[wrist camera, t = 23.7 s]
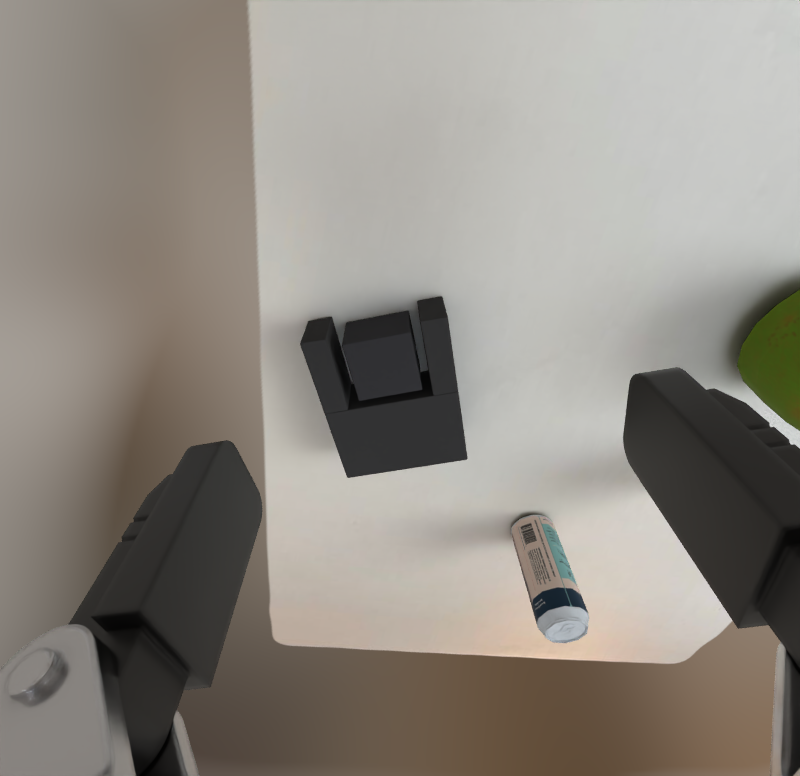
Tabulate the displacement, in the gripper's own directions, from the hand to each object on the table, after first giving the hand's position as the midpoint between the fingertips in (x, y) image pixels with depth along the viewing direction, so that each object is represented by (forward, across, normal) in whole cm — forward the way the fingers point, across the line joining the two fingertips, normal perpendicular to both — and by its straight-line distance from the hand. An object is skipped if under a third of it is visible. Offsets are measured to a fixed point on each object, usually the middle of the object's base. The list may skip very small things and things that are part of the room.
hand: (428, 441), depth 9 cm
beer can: (+26, -8, +37) cm, 46 cm away
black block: (+26, +3, +11) cm, 28 cm away
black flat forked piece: (+26, +4, +15) cm, 30 cm away
